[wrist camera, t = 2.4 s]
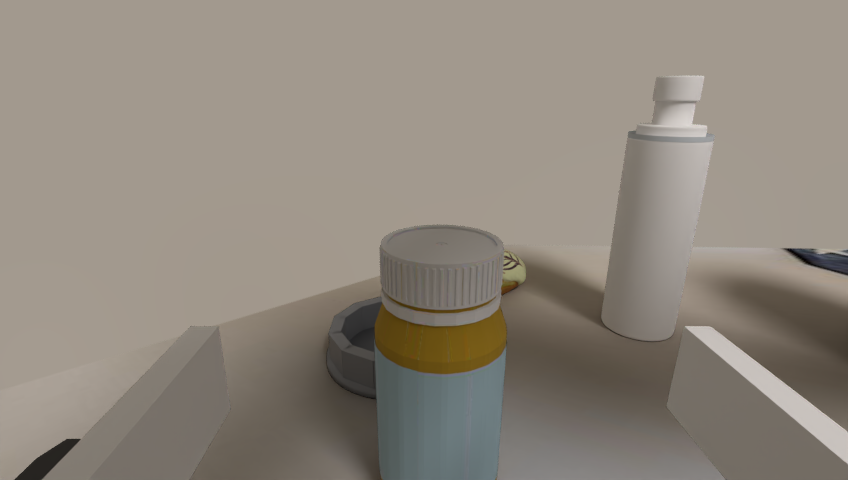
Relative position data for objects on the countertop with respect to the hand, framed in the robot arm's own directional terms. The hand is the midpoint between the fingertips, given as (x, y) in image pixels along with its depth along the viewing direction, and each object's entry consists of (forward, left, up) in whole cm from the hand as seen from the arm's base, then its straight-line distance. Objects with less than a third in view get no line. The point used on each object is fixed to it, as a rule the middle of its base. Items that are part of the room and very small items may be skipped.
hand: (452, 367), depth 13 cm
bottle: (0, -10, -15) cm, 18 cm away
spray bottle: (-21, -28, -15) cm, 38 cm away
